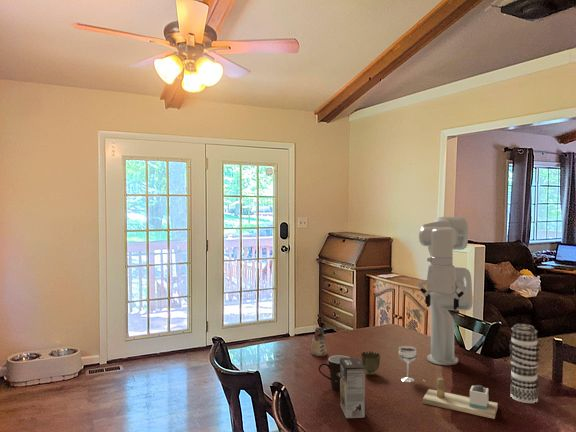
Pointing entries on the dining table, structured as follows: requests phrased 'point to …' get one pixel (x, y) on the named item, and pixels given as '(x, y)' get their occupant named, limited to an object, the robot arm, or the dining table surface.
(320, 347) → the figurine
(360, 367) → the coffee box
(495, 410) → the pin board
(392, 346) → the dining table surface
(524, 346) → the decorative candle
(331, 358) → the coffee mug
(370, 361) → the cup
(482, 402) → the sleeve
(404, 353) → the wineglass
